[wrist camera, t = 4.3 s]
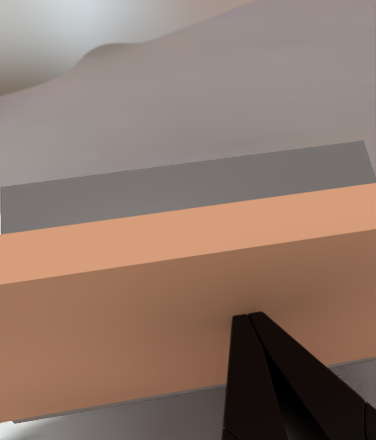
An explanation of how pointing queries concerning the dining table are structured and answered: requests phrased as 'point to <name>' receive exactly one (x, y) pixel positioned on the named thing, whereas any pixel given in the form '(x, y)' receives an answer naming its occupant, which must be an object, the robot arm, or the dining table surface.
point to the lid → (180, 297)
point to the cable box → (183, 186)
